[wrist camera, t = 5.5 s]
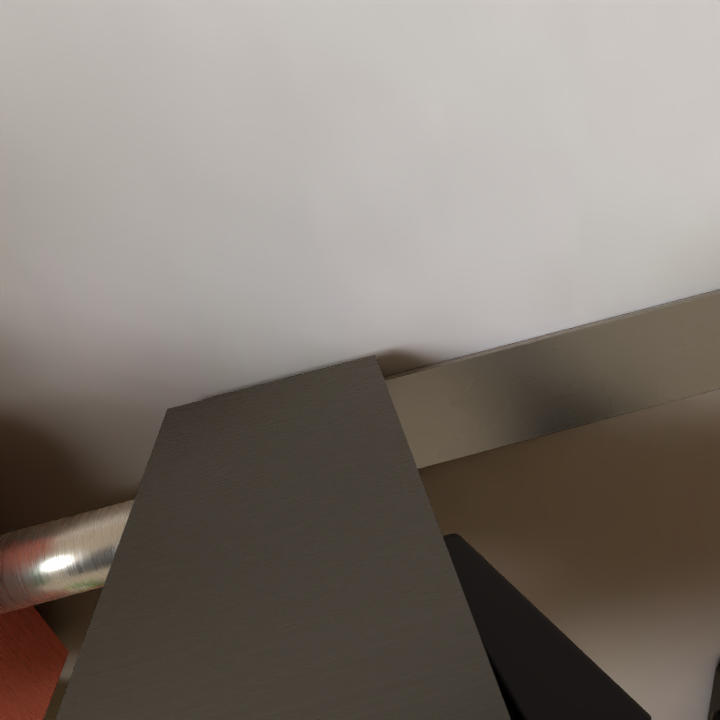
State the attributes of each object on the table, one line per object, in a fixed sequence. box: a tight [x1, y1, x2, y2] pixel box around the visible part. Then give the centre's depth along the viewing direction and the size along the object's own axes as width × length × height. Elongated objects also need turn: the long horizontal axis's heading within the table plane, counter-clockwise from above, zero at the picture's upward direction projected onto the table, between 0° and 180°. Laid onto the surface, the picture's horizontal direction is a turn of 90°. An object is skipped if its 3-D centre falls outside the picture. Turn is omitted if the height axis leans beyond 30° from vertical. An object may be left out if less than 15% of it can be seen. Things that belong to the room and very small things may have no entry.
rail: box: [384, 290, 720, 469], centre depth 11 cm, size 12×2×1 cm, turn 103°
